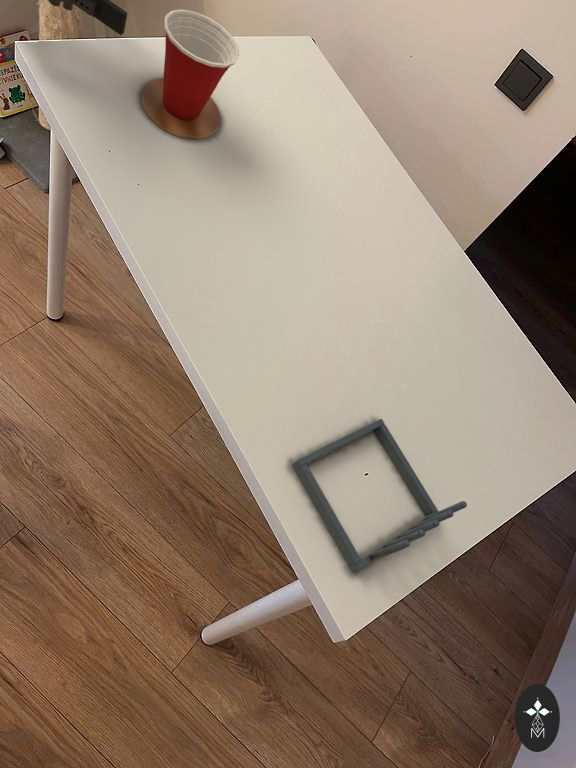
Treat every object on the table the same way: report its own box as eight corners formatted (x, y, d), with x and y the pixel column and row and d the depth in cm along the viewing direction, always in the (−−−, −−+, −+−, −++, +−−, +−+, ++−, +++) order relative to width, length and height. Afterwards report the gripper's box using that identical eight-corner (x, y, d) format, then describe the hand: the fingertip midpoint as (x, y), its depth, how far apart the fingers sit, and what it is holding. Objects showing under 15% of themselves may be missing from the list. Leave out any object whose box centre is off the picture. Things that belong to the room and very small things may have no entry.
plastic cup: (230, 126, 93) (256, 58, 83) (172, 139, 87) (194, 67, 77) (191, 76, 94) (212, 4, 85) (132, 85, 88) (148, 8, 78)
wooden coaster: (166, 144, 86) (167, 141, 86) (127, 84, 89) (127, 80, 88) (233, 134, 93) (234, 131, 93) (195, 78, 95) (196, 75, 95)
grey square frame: (291, 464, 71) (325, 436, 64) (374, 423, 79) (413, 394, 71) (352, 572, 68) (395, 556, 60) (432, 518, 76) (479, 498, 68)
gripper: (65, -89, 86) (191, -1, 88) (-60, -36, 72) (94, 69, 74) (70, -150, 80) (204, -53, 82) (-66, -105, 65) (102, 11, 68)
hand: (152, 5), depth 78 cm, fingers open, 13 cm apart
